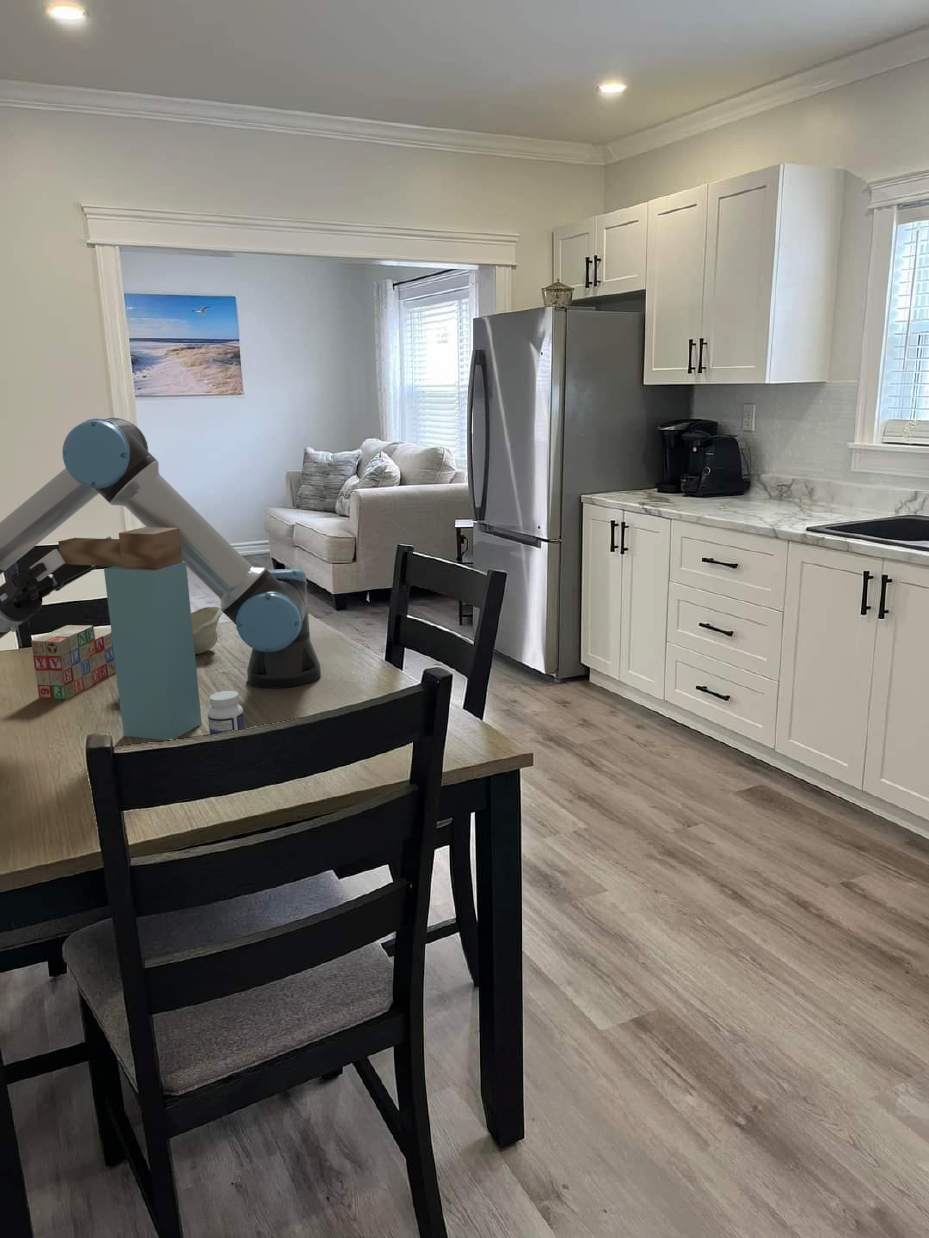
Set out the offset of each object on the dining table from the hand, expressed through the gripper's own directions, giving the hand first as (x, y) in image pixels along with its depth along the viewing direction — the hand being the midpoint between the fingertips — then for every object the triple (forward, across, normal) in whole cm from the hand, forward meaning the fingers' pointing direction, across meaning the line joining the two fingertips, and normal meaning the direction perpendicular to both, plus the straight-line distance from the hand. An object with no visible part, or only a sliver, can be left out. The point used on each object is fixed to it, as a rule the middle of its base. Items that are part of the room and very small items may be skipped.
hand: (87, 549), depth 162 cm
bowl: (-28, -46, -22) cm, 58 cm away
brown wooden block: (+4, 0, -5) cm, 7 cm away
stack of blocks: (-36, -20, -17) cm, 45 cm away
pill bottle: (+9, +6, -43) cm, 44 cm away
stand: (-6, 0, -34) cm, 34 cm away
